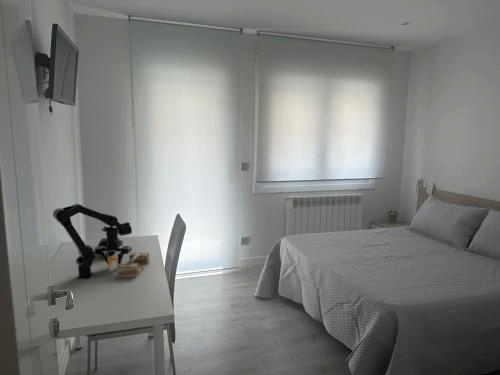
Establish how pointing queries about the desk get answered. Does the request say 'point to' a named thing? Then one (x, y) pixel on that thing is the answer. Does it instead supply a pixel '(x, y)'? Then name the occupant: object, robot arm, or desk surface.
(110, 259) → the tan u-shaped bracket
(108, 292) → the desk surface
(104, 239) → the black cylinder
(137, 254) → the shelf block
